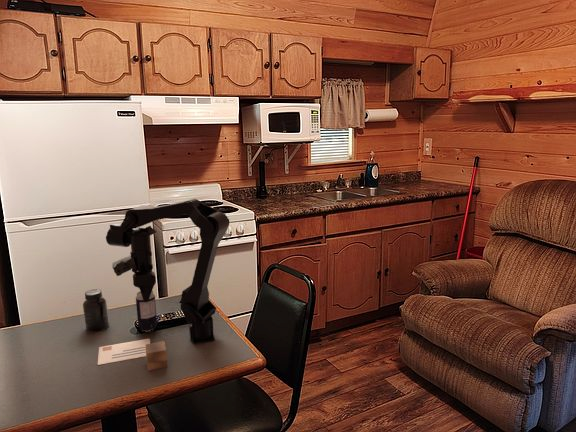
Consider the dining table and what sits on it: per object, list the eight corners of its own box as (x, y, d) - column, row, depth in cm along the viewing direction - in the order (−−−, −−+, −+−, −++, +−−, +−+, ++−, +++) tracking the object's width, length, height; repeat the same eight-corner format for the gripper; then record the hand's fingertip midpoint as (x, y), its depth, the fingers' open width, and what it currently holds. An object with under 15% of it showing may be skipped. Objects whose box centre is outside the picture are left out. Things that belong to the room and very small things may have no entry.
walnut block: (165, 357, 123) (164, 341, 122) (167, 366, 119) (166, 349, 118) (146, 361, 122) (145, 344, 121) (148, 370, 117) (146, 353, 116)
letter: (149, 338, 134) (149, 338, 134) (151, 355, 124) (151, 354, 124) (99, 347, 129) (99, 346, 129) (97, 365, 120) (97, 364, 120)
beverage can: (160, 325, 142) (157, 290, 139) (152, 333, 137) (149, 297, 134) (144, 323, 143) (141, 288, 141) (135, 332, 138) (131, 296, 135)
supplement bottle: (101, 320, 146) (97, 286, 143) (113, 325, 142) (109, 290, 139) (81, 328, 141) (77, 292, 138) (93, 334, 137) (89, 297, 134)
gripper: (112, 242, 140) (117, 289, 143) (112, 260, 123) (117, 312, 126) (149, 239, 144) (153, 284, 147) (154, 255, 127) (157, 306, 130)
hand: (145, 296), depth 138 cm, fingers open, 9 cm apart
